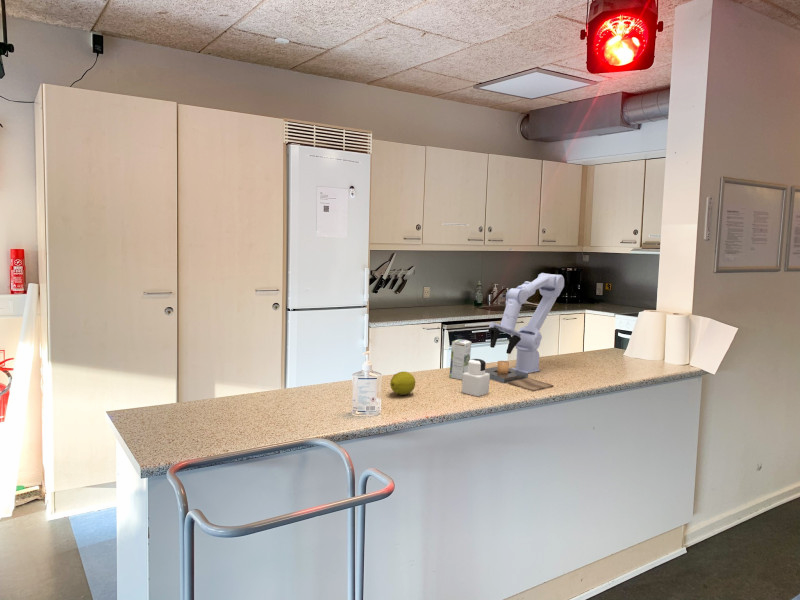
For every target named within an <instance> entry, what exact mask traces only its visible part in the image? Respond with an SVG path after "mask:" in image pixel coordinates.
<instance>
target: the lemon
mask: <svg viewBox="0 0 800 600" xmlns="http://www.w3.org/2000/svg"><path fill="white" fill-rule="evenodd" d="M389 383H390V385H389V386H390V389H391V390H392V392H394V393H395V394H397V395H399V396H400V395H401V396H403V395H404V396H405V395H408V394H410V393H411V392H412V391H413V390H414V389H415V387H416V379H415V377H414V375H413V374H412V373H410V372H409V371H399V372H397V373H395V374H394V375H393V376H392V377H391V379H390V382H389Z"/></svg>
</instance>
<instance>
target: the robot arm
mask: <svg viewBox="0 0 800 600" xmlns="http://www.w3.org/2000/svg"><path fill="white" fill-rule="evenodd" d="M564 288H565V278H564V276H563V275H562V274H555V273H554V274H551V273H545V272H541V273H539V274H538V276H537V278H535V279H534V280H532V281H524V283H522V284H521V285H518V286H517V287H516V288H514V287H513V288H511V287H510V289H508V290H507V292H506V294H505V308H504V311H503V315H502V318H501V321H500V324H499V323H496V322H493V321H490V323H489V324H488V325H489V326H488V327H489V330H488V332H489V336H490V343H489V345H490V346H489V347H490V348H492V349H493V348H495V347H496V344H497V340H498V337H499V336H500V334H501V333H502V332H503V333H505V334H508V335H510V336H509V338H508V346H507V349H506V354H509V355H510V354H511V353H512V352H513V350H514V348H515V349H516V358H515V360H516V361H515V367H511V368H510V369H514V370H517V371H521V372H524V373H528V374H530V373H536V372H540V371H541V369H540V368H539V367H540V366H539V365H540V353H539V351H538V349H539V347H540V345H541V341H542V339H543V337H542V334H541V332H540V330H541V329H542V326H543V325H544V323H545V321H546V319H547V317H548V315H549V313H550V311H552V310H551V309H552V307H553V306H554V305H555V302H556V300H557V298H558V297H560V295H561V292H562V291H563V289H564ZM537 290H538V291H539V294H540V295H541V296H542V298H541V300H540V302H539V303H538V305H537V307H536V309H535V310H534V312H533V315H532V316H531V318H530V320H529V322H528V323H527V325H525V326H522V327H520V328H519V330H518V331H517V330H516V325H517V323H518V318H519V314H520V310H521V307H522V305H523V304H526V302H527V300H528V298H531V296H533V295H535V294H536V291H537Z"/></svg>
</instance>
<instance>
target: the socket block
mask: <svg viewBox="0 0 800 600" xmlns="http://www.w3.org/2000/svg"><path fill="white" fill-rule="evenodd" d="M484 373H489V374H490V380H492V381H495V382H499V383H501V384H508V382H511V381H516V380H521V379H526V378H529V373H524V372H521V371H517V370H514V369H511V368H510V367H509V371H508V374H500V373H497V366H493V367H492V366H491V367H488V368H487V367H486V368H485V372H484Z"/></svg>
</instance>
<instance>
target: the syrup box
mask: <svg viewBox="0 0 800 600" xmlns="http://www.w3.org/2000/svg"><path fill="white" fill-rule="evenodd" d="M471 350H472V341H470V340H468V339H456V340H452V341H451V351H450V352H451V353H450V367H449V378H450V379H456V380H459V381H460V380H461V381H462V377H463V373H466V372H469V371H468V361H469V360H471Z"/></svg>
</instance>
